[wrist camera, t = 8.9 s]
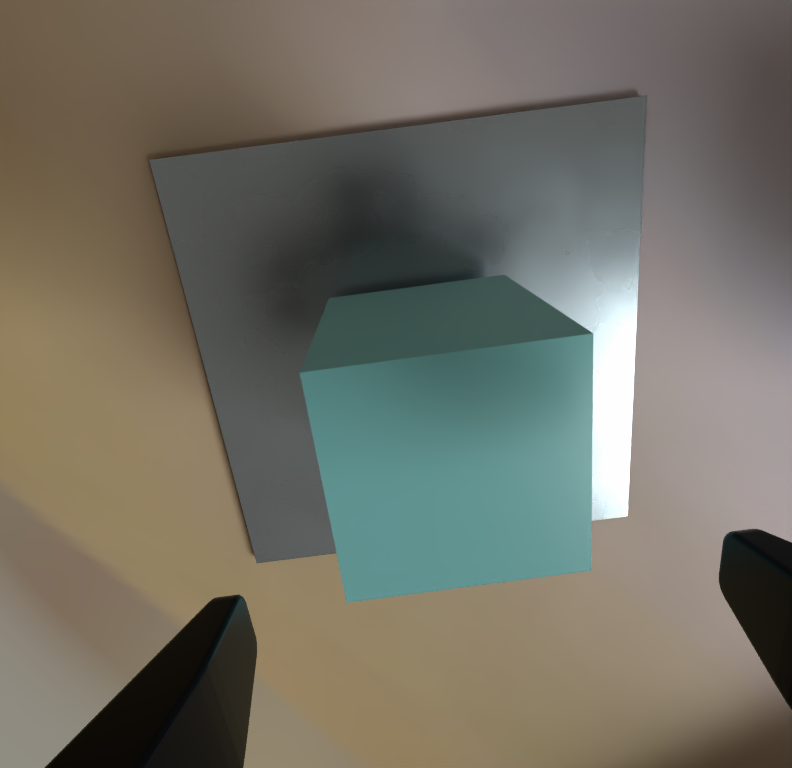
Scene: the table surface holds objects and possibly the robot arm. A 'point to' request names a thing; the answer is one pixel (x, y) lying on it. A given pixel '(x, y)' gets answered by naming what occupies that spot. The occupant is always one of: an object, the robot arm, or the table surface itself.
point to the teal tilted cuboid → (452, 436)
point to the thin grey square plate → (400, 270)
